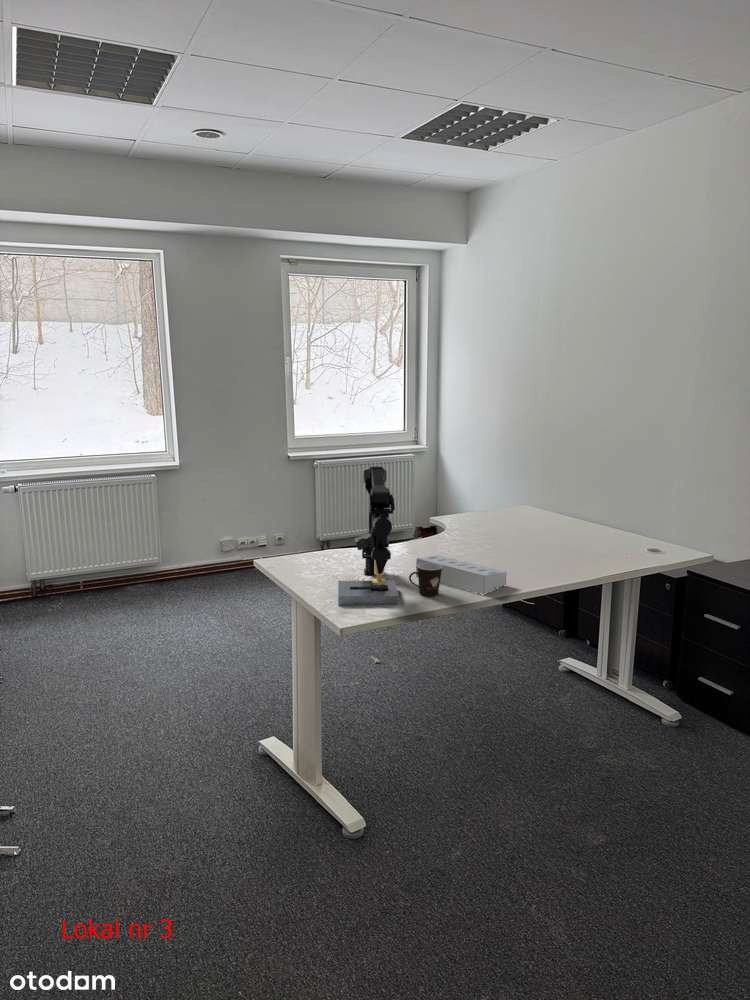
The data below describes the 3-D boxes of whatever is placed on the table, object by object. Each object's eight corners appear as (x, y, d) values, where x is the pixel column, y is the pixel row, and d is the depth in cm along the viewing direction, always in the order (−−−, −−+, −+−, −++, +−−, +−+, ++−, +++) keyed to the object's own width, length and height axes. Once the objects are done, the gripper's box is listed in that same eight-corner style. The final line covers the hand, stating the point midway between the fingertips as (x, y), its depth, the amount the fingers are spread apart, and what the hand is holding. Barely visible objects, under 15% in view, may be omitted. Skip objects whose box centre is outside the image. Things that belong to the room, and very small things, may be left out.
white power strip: (505, 586, 252) (506, 566, 251) (483, 596, 242) (484, 575, 240) (438, 569, 272) (439, 550, 270) (416, 577, 261) (416, 558, 260)
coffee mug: (439, 589, 247) (440, 562, 245) (442, 598, 239) (443, 570, 237) (406, 589, 247) (407, 562, 245) (408, 598, 238) (409, 570, 236)
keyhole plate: (338, 589, 246) (338, 580, 245) (394, 589, 247) (395, 580, 246) (338, 605, 231) (338, 596, 230) (398, 605, 231) (398, 596, 231)
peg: (372, 581, 240) (372, 554, 238) (385, 581, 240) (385, 554, 238) (373, 585, 236) (373, 558, 234) (385, 585, 236) (386, 558, 234)
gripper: (355, 521, 243) (355, 563, 246) (356, 535, 224) (356, 581, 228) (387, 521, 243) (386, 563, 247) (391, 535, 225) (390, 581, 228)
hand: (379, 572), depth 237 cm, fingers closed on peg, 3 cm apart
